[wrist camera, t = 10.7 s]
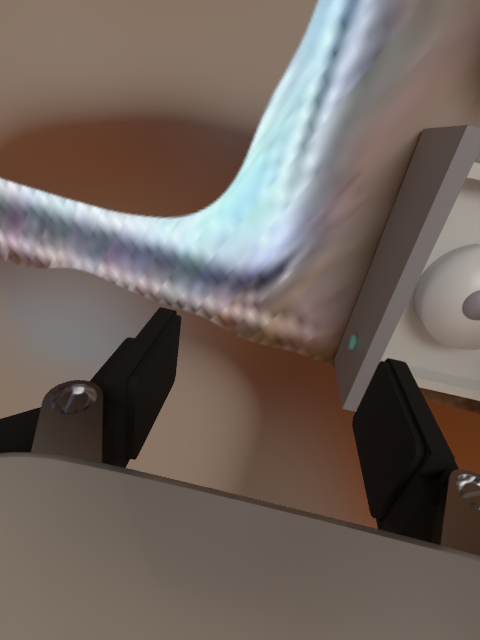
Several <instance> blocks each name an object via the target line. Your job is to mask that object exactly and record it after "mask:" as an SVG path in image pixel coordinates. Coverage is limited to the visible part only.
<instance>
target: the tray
mask: <svg viewBox="0 0 480 640" xmlns="http://www.w3.org/2000/svg"><path fill="white" fill-rule="evenodd" d="M479 151H480V127H475V126H470V125H463V126H451V127H440V128H429V129H423V131H422V133H421V136H420V138H419V141H418V144H417V146H416V149H415V151H414V154H413V157H412V159H411V162H410V164H409V167H408V169H407V172H406V175H405V177H404V180H403V182H402V185H401V188H400V190H399V193H398V195H397V198H396V201H395V203H394V206H393V208H392V211H391V214H390V216H389V219H388V221H387V224H386V226H385V229H384V232H383V234H382V237H381V239H380V242H379V245H378V247H377V250H376V252H375V255H374V258H373V260H372V263H371V265H370V268H369V271H368V273H367V276H366V278H365V281H364V283H363V286H362V289H361V291H360V294H359V296H358V299H357V302H356V304H355V307H354V309H353V312H352V315H351V317H350V320H349V322H348V325H347V328H346V330H345V333H344V335H343V338H342V340H341V343H340V346H339V348H338V351H337V353H336V356H335V359H334V364H335V370H336V375H337V381H338V386H339V392H340V398H341V403H342V409H346V410H350V411H354V412H356V411H357V408H358V406H359V404H360V402H361V400H362V398H363V396H364V394H365V391H366V389H367V387H368V385H369V383H370V381H371V379H372V377H373V374H374V372H375V370H376V368H377V366H378V364H379V362H380V361H385V360H386V359H387V358H390V359H395V360H399V361H404V362H406V363H407V365H408V367H409V369H410V371H411V373H412V375H413V377H414V379H415V381H416V383H417V385H418V387H421V388H425V389H429V390H434V391H438V392H443V393H447V394H451V395H456V396H460V397H465V398H469V399H473V400H478V401H480V349H476V350H462V349H455V348H452V347H448V346H446V345H444V344H442V343H440V342H438V341H437V340H436V339H435V338H433V337H432V335H431V334H430V333H429V332H428V330H427V329H426V328H425V326H424V325H423V323H422V322H421V320H420V319H419V317H418V316H417V314H416V311H415V308H414V292H415V288H416V285H417V283H418V281H419V279H420V277H421V276H422V274H423V273H424V271H425V270H426V269H427V268H428V267H429V266H430V265H431V264H432V263H433V262H434V261H435V260H437V259H438V258H440V257H441V256H442V255H444V254H446V253H448V252H450V251H452V250H454V249H456V248H459V247H462V246H466V245H471V244H480V163H476V162H474V161H475V159H476V157H477V155H478V153H479Z"/></svg>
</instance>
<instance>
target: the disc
mask: <svg viewBox="0 0 480 640" xmlns="http://www.w3.org/2000/svg"><path fill="white" fill-rule="evenodd" d="M414 308H415V311H416V314H417V316H418V317H419V319H420V320H421V322H422V323H423V325H424V326H425V328H426V329H427V330H428V332H429V333H430V334H431V335H432V337H433V338H435V339H436V340H437V341H438V342H440V343H442V344H444V345H446V346H448V347H452V348H455V349H462V350H476V349H480V244H471V245H466V246H462V247H459V248H456V249H454V250H452V251H450V252H448V253H446V254H444V255H442V256H441V257H440V258H438V259H437V260H435V261H434V262H433V263H432V264H431V265H430V266H429V267H428V268H427V269H426V270H425V271H424V273H423V274H422V276H421V277H420V279H419V281H418V283H417V285H416V288H415V292H414Z"/></svg>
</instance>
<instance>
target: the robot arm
mask: <svg viewBox="0 0 480 640" xmlns="http://www.w3.org/2000/svg"><path fill="white" fill-rule="evenodd" d="M180 326H181V316H179V315H177V313H176V311H175V310H170V309H166V308H161V307H160V308H159V309H158V310H157V312H156V313H155V314H154V315H153V316H152V318H151V319H150V320H149V321H148V323H147V324H146V325H145V326H144V328H143V329H142V330H141V332H140V333H139V334H138V335H137V336H136V338H130V337H129V338H127V339H125V340H124V342H123V343H122V344H121V345H120V346H119V347H118V349H117V350H116V351H115V352H114V353H113V355H112V356H111V357H110V358H109V359H108V361H107V362H106V363H105V364H104V365H103V366H102V367H101V369H100V370H99V371H98V372H97V373H96V375H95V376H94V377H93V378H92V379H91V381H90V382H89V381H85V380H74V381H68V382H65V383H62V384H59V385H57V386H55V387H54V388H52V389H51V390H50V391H49V392H48V393H47V394H46V395H45V397H44V399H43V401H42V406H41V407H40V408H37V409H33V410H30V411H26V412H23V413H19V414H16V415H12V416H9V417H6V418H2V419H0V640H480V475H479V474H477V473H474V472H472V471H469V470H464V469H459V468H458V467H457V465H456V463H455V460H454V459H455V458H454V456H453V454H452V452H451V450H450V448H449V446H448V444H447V442H446V440H445V438H444V436H443V434H442V432H441V430H440V428H439V426H438V425H437V422H436V420H435V419H434V416H433V415H432V412H431V410H430V408H429V406H428V404H427V403H426V401H425V399H424V397H423V395H422V393H421V391H420V389H419V387H418V385H417V383H416V381H415V379H414V377H413V375H412V373H411V371H410V369H409V367H408V365H407V363H406V362H404V361H399V360H395V359H390V358H387V359H386V360H385V361H380V362H379V364H378V366H377V368H376V370H375V372H374V374H373V377H372V379H371V381H370V383H369V385H368V387H367V389H366V391H365V394H364V396H363V398H362V400H361V402H360V404H359V406H358V408H357V411H356V413H355V415H354V417H353V431H354V435H355V441H356V445H357V450H358V455H359V460H360V465H361V470H362V475H363V479H364V485H365V490H366V494H367V499H368V504H369V509H370V513H371V516H372V517H373V518H376V521H377V525H378V529H375V528H371V527H366V526H363V525H359V524H354V523H351V522H346V521H343V520H339V519H335V518H331V517H327V516H323V515H318V514H314V513H310V512H306V511H302V510H298V509H294V508H290V507H286V506H282V505H277V504H274V503H269V502H265V501H261V500H257V499H253V498H249V497H245V496H241V495H237V494H232V493H228V492H224V491H220V490H216V489H212V488H207V487H203V486H199V485H195V484H190V483H187V482H182V481H178V480H174V479H170V478H166V477H161V476H157V475H153V474H149V473H145V472H140V471H136V470H131V469H127V468H126V466H127V464H128V462H129V460H130V459H134V460H135V459H136V458H137V456H138V454H139V452H140V450H141V448H142V446H143V444H144V442H145V440H146V438H147V436H148V434H149V432H150V430H151V428H152V426H153V424H154V422H155V420H156V418H157V416H158V414H159V412H160V410H161V408H162V406H163V404H164V402H165V400H166V398H167V396H168V394H169V392H170V390H171V388H172V386H173V384H174V380H175V376H176V367H177V357H178V346H179V336H180Z"/></svg>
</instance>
